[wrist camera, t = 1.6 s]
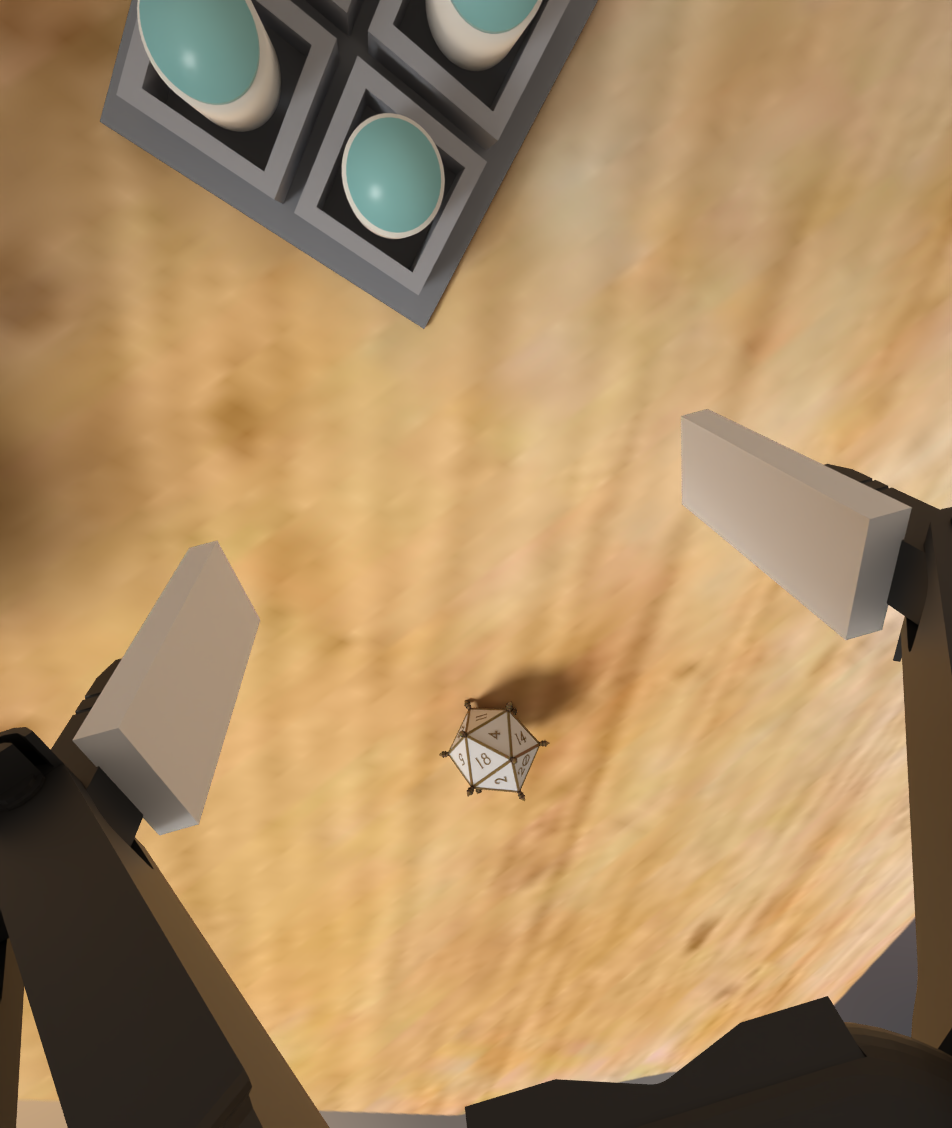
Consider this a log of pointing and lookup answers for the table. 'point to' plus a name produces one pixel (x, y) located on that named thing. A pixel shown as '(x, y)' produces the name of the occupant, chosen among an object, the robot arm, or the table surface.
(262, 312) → the table surface
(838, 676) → the table surface
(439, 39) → the button
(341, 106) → the board
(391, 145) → the button
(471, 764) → the game die
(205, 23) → the button
